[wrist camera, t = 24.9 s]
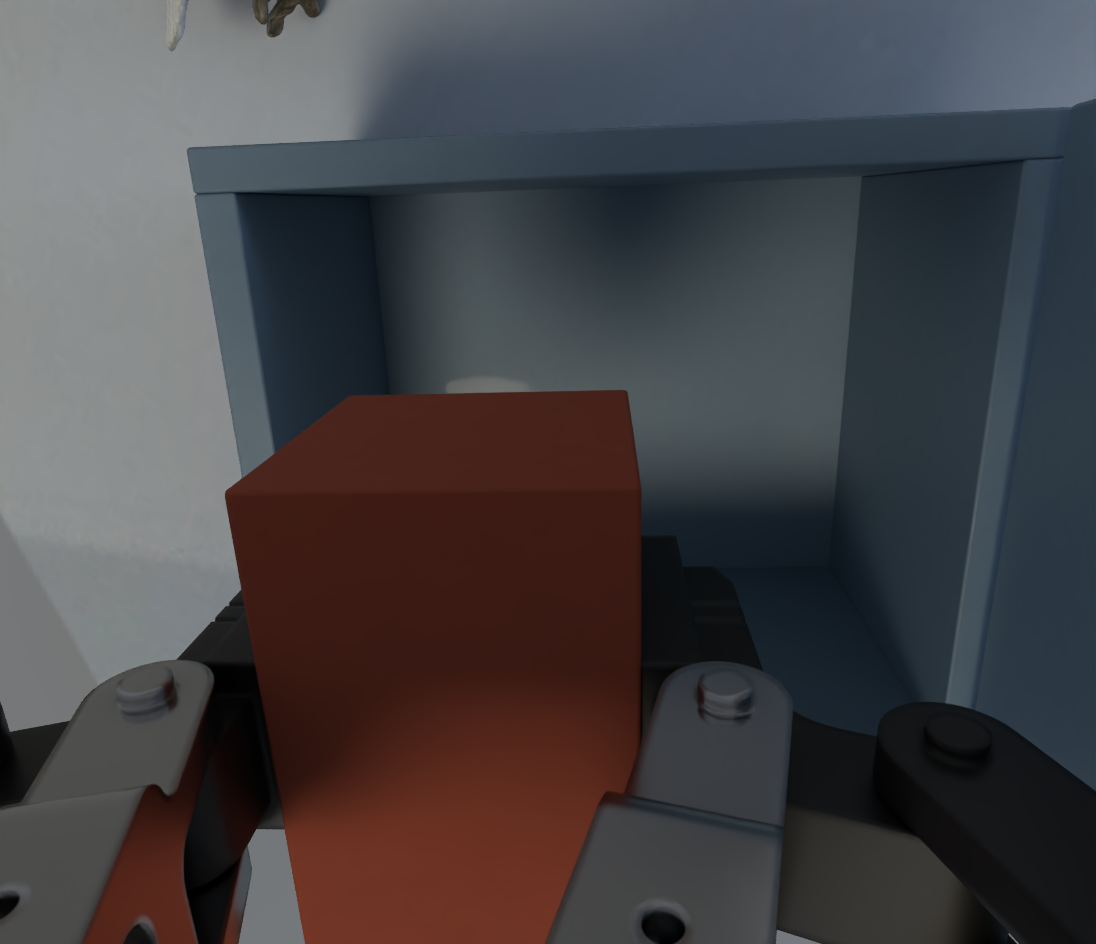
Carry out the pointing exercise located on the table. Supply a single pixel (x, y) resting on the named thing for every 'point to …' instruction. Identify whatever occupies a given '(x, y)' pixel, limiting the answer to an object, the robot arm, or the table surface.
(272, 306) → the blue-grey box
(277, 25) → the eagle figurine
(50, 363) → the table surface
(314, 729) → the terracotta brick block
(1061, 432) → the box lid
